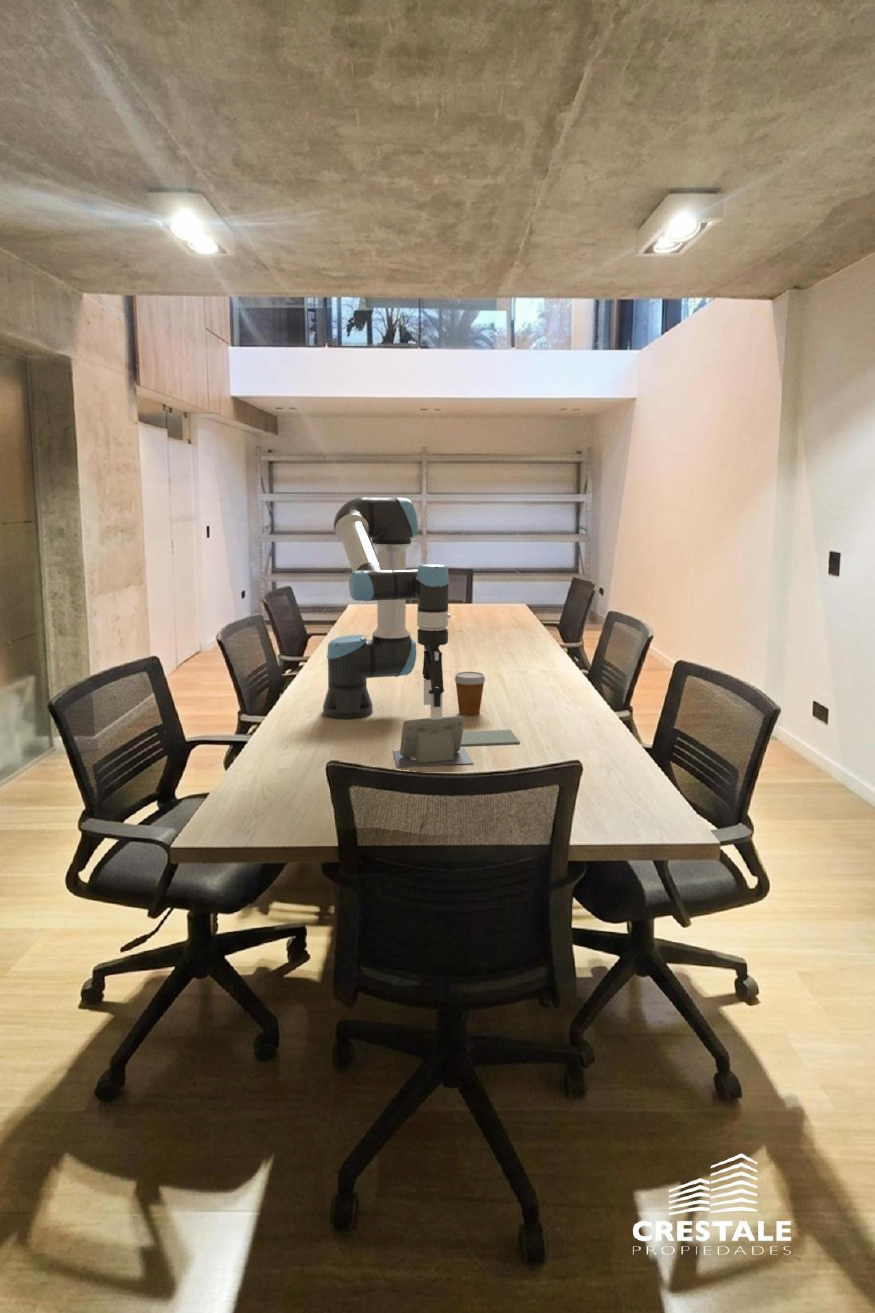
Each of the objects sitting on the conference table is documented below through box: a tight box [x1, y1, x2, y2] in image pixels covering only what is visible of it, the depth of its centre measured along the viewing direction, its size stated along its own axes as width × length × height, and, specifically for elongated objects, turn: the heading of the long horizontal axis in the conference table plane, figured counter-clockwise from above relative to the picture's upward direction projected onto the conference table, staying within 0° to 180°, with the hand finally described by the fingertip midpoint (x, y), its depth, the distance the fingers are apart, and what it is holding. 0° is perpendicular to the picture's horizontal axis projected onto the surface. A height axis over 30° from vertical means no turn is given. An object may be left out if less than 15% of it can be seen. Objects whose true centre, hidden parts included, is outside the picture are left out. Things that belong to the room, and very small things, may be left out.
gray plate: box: [392, 747, 474, 768], centre depth 195 cm, size 19×12×1 cm, turn 98°
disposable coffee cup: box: [453, 671, 486, 716], centre depth 235 cm, size 10×10×12 cm
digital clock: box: [399, 715, 465, 763], centre depth 194 cm, size 16×9×11 cm, turn 96°
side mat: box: [460, 729, 521, 747], centre depth 211 cm, size 18×11×1 cm, turn 98°
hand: (432, 711), depth 193 cm, fingers open, 13 cm apart
